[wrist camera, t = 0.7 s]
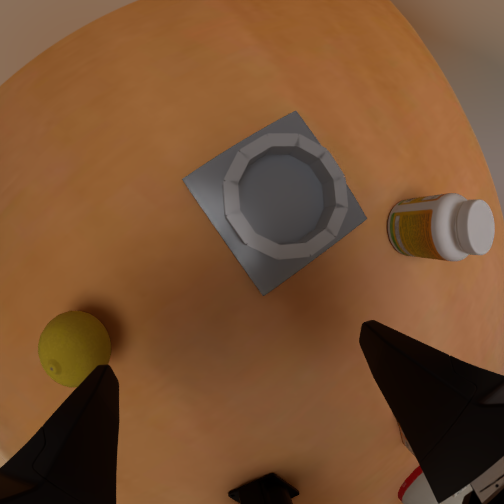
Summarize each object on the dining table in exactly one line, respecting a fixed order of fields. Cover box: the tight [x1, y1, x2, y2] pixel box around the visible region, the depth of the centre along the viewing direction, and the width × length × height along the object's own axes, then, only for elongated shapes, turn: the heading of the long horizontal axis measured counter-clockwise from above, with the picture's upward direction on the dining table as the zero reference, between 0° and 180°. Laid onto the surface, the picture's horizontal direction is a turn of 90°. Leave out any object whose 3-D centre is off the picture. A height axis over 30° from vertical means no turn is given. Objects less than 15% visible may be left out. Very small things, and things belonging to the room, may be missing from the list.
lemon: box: [38, 311, 111, 387], centre depth 17 cm, size 6×6×8 cm
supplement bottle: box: [388, 193, 495, 261], centre depth 20 cm, size 5×5×10 cm
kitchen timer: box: [398, 466, 473, 504], centre depth 22 cm, size 14×14×15 cm
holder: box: [182, 111, 367, 296], centre depth 21 cm, size 11×11×3 cm
